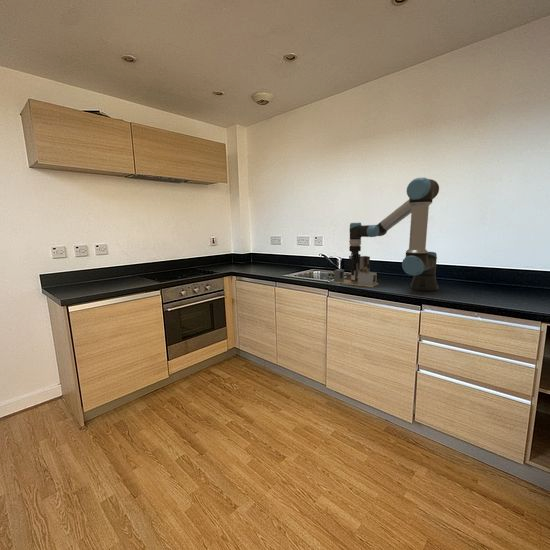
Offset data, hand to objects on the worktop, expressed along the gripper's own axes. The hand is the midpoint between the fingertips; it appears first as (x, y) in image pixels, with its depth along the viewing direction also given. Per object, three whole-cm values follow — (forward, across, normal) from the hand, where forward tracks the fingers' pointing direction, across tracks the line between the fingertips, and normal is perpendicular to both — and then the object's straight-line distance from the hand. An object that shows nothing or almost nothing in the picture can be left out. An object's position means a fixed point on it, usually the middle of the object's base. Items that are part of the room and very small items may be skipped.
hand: (354, 279), depth 199 cm
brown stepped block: (+2, 0, +4) cm, 4 cm away
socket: (+3, 0, -12) cm, 12 cm away
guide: (+3, 0, 0) cm, 3 cm away
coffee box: (+3, -27, -6) cm, 28 cm away
